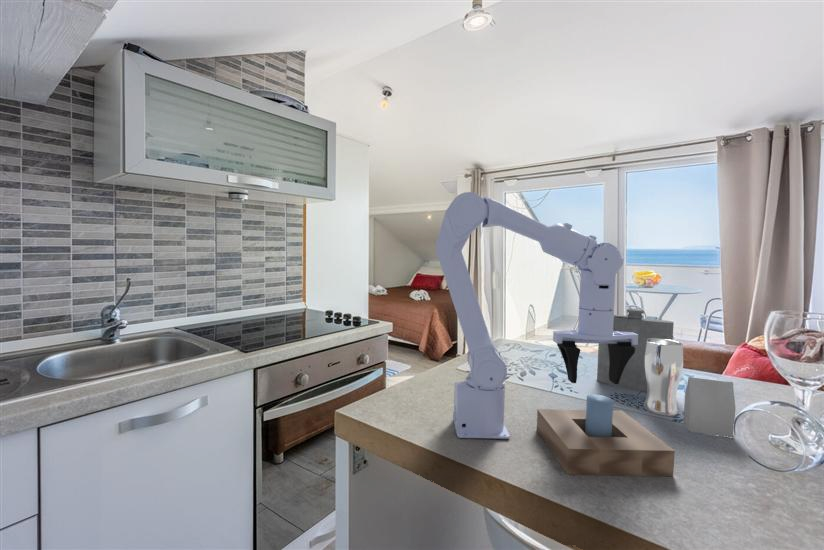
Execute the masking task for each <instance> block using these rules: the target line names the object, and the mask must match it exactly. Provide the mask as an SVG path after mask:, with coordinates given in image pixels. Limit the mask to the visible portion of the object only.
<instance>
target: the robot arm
mask: <svg viewBox="0 0 824 550" xmlns="http://www.w3.org/2000/svg"><path fill="white" fill-rule="evenodd" d="M481 224H482V225H481ZM480 225H481V226H482V228H491V227H492V228H493V227H502V228H504V229H506V230H509V231H510V232H513V233H516V234H518V235H520V236H521V235H522V236H524V237H526V238H528V239H531V240H533V241H536V242H538V243H539V245H540V248H541V250H542V252H543V253H544V254H547V255H549V256H552V257H554V258H556V259H559V260H561V261H563V262H565V263H568V264H570V265H571V266H573V267H577V269H578V270H579V271H580V278H579V279H580V282H579V301H578V302H579V303H578V325H577V329H568V330H553V331H552V332H553V334H552V335H553V336H552V341H553V342H554V343H555V344H557V345H556V346H557V348H558V349H559V352H560V354H561V356H562V359H563V362H564V366H565V369H566V374H567V380H568V381H569V382H571V384H577V381H578V380H577V379H578V363H579V358H580V353H581V349H580V348H579V347H578V346H577V344H599V343H607V344H608V350H609V361H610V364H609V380H610V381H611V382H613V383H614V384H619V381H620V378H621V375H622V373H623V370H624V368H625V366H626V364H627V362H628V361H629V359H630V358H631V357H632V356H633V354H634V353H635V347H633V346H631V345H638V334H635V333H633V332H618V331H613V321H614V315H615V299H616V296H615V295H616V275H617V273H618V272H619V271H620V270H621V268H622V267H623V264H624V260H625V259H624V258H622V255H621V252H620V250H619V249H618V248H617V246H615V245H614V244H612V243H610V242H598V241H597V236H595V235H593V234H591V235H589V236H588V235H586V234H583V233H581V232H579V231H577V230H575V229H572V227H573V225H572V224H570V223H568V222H566V223H563V224H561V223H559V222H558V223H553V224H552V225H549V226H548V225H546V224H544V223H543V222H540V221H538V220H536V219H534V218H533V217H530V216H527V215H526V214H524V213H522V212H521V211H519V210H518V211H517V210H516V209H514V208H512V207H510V206H507V205H506V204H504V203H502V202H500V201H497V200H495V199H493V198H490V197H487V196H481V195H480V194H478V193H477V192H476V193H475V192H472V191H466V192H465V191H464V192H462V193H459V194H458V195H457V196H455V198H454V199H453V200H452V202H451V203H450V204H449V206H448V207H447V209H446V210H445V213H444V215H443V218H442V223H441V226H440V229H439V232H438V236H437V240H436V243H435V252H436V255H437V258H438V261H439V265H440V267H441V271H442V274H443V277H444V279H445V283H446V285H447V288H448V292H449V295H450V297H451V299H452V303H453V306H454V310H455V311H456V316H457V319H458V322H459V325H460V327H461V330H462V334H463V336H464V340H465V343H466V346H467V355H466V359H467V363H468V365H469V368H470V371H469V373H468V375H467V376H466V377H465V380H463V381H457V382H454V389H453V390H454V391H453V411H452V420H453V423H454V428H455V433H456V435H457V438H460V439H510V438H511V435H510V433H509V430H508V428H507V427H506V425H505V394H506V393H505V392H506V381H505V380H506V379H507V376H508V369H507V365H506V363H505V361H504V360H503V359H502V358H501V356H500V354H499V351H498V349H497V348H496V347H495V346H494V343H493V341H492V338H491V336H490V333H489V331H488V327H487V325H486V322H485V319H484V316H483V313H482V310H481V306H480V304H479V299H478V297H477V295H476V290H475V288H474V286H473V285H474V284H473V282H472V279H471V276H470V273H469V270H468V268H467V264H466V260H465V258H464V255H463V251H462V250H463V249H464V246H465V245H466V243H467V241H468V240H469V238H470V235H471V234H472V233H474V231H475V230H477V228H478V227H479V226H480Z"/></svg>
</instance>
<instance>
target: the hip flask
mask: <svg viewBox="0 0 824 550" xmlns="http://www.w3.org/2000/svg"><path fill="white" fill-rule="evenodd" d="M626 312H627V313H628V314H627V315H625V314H624V315H621V314H614V321H613V331H618V332H633V333H635V334H638V345H631V346H633V347H635V353H634V354H633V356H632V357H631V358H630V359H629V361H628V362H627V364H626V366H625V368H624V370H623V373H622V375H621V378H620V381H619V384H614V383H613V382H611V381H610V380H609V364H610V361H609V350H608V344H607V343H598V345H597V346H598V347H597V348H598V350H597V352H598V353H597V366H596V367H597V368H596V369H597V373H596V376H597V377H596V381H597V382H600V383H601V384H607V385H611V386H615V387H620V388H625V389H628V390H635V391H640V392H645V393H647V386H646V379H645V372H644V352H645V345H646V339H650V338H658V339H667V340H673V341H674V339H673V338H674V323H675V322H674V321H670V320H663V319H650V318H643V315H644V312H645V310H644V309H640V308H626Z"/></svg>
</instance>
